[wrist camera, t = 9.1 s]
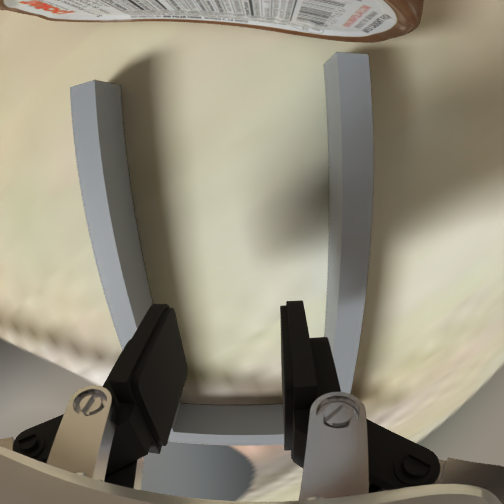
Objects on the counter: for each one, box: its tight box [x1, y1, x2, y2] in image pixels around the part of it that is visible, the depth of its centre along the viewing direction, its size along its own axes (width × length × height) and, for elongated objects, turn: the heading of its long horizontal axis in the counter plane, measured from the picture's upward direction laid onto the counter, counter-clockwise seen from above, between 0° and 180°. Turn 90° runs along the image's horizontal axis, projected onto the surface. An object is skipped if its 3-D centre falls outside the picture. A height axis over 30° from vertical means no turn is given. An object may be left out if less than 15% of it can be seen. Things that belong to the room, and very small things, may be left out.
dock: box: [70, 52, 373, 445], centre depth 15 cm, size 11×20×2 cm, turn 4°
